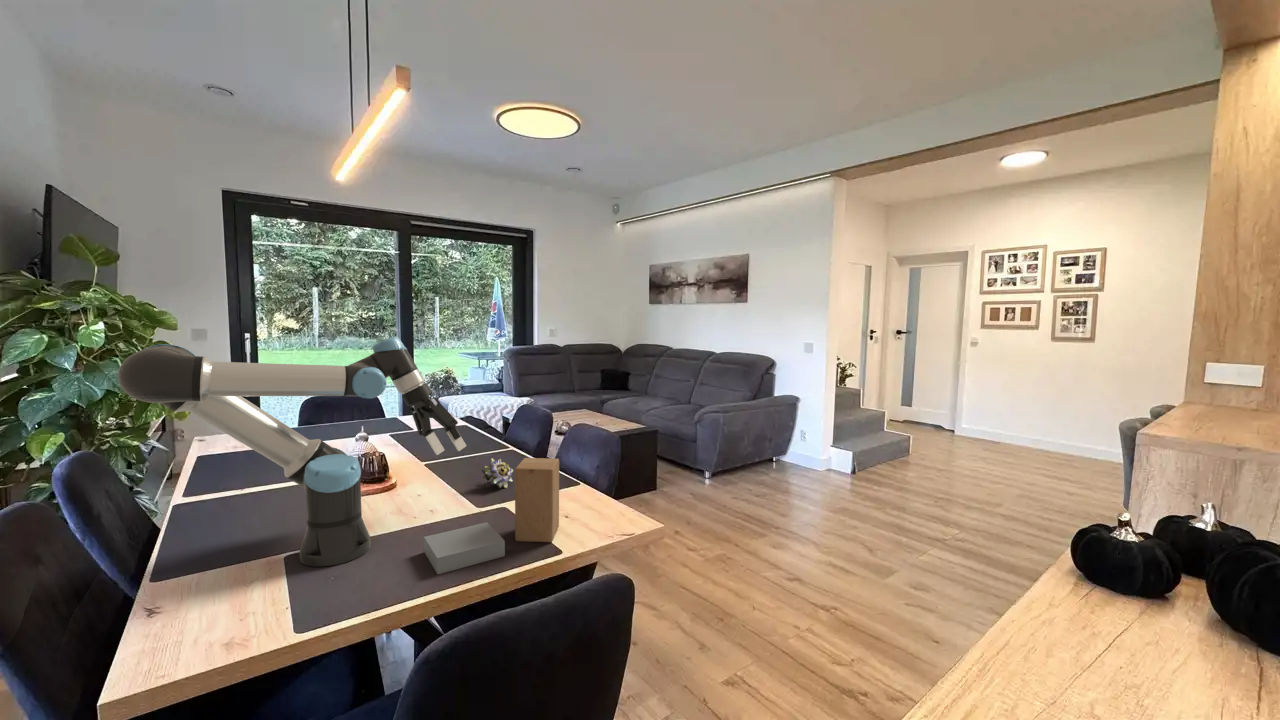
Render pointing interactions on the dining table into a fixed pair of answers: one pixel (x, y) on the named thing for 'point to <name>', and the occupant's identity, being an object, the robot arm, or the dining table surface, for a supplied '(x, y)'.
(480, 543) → the plinth
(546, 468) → the wooden block
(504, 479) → the passion flower
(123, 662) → the dining table surface
